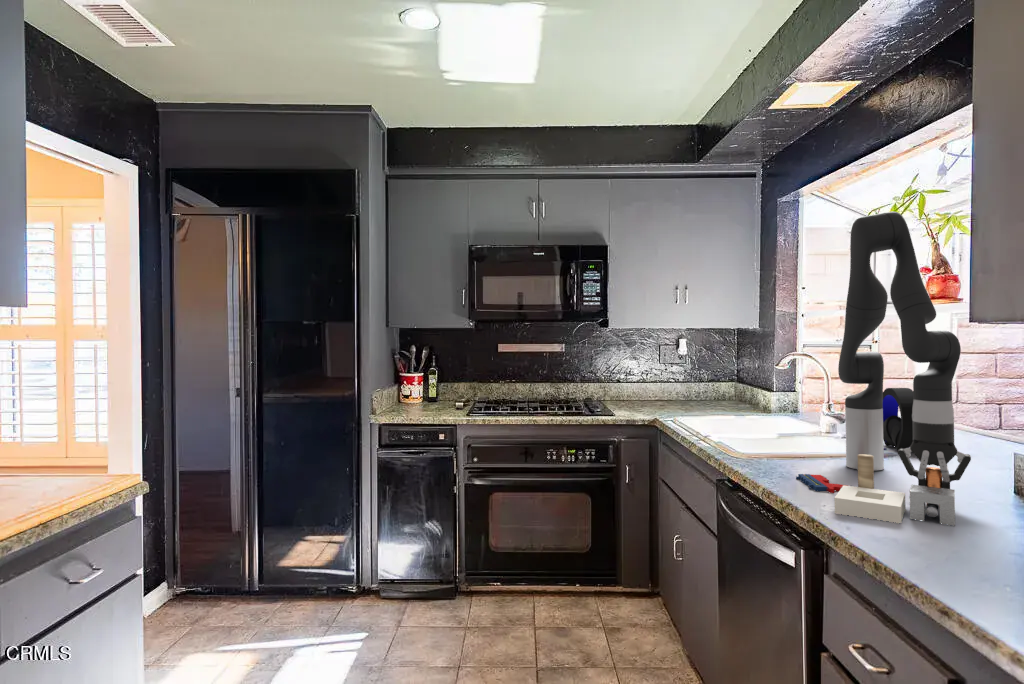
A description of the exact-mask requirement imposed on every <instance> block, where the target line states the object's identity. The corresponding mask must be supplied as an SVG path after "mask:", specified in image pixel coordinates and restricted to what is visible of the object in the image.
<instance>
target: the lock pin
mask: <svg viewBox="0 0 1024 684" xmlns="http://www.w3.org/2000/svg"><path fill="white" fill-rule="evenodd" d="M925 478H926V486H927V487H936V488H942V480H943V477H942V473H941V470H940V467H934V466H933V467H931V466H930V467H929V466H928V467H926V472H925ZM925 505H926V506H925V508H926V515H927V516H928V517H931V518H935V517H937V516H938V515H939V509H940V505H939V504H932V503H925Z"/></svg>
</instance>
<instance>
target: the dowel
mask: <svg viewBox="0 0 1024 684" xmlns="http://www.w3.org/2000/svg"><path fill="white" fill-rule="evenodd" d="M874 473H875V471H874V459H873V456H872V455H867V454H859V455H858V469H857V487H861V488H869V489H875V475H874Z"/></svg>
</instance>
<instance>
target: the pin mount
mask: <svg viewBox="0 0 1024 684" xmlns="http://www.w3.org/2000/svg"><path fill="white" fill-rule="evenodd" d="M955 492H956V490H955V489H951V488H950V489H944V488H936V487H927V486H919V485H918V484H911V485H910V489H909V520H910V519H916V520H923V521H924V522H925V520H926V515H927V514H926V503H932V504H939V505H940V506H939V524H940V523H942V524H941V525H943V524H948V525H947V526H950V525H953V526H952V527H955V525H956V502H955V499H956V497H955V495H956V494H955ZM925 514H926V515H925ZM924 519H925V520H924ZM916 520H915V521H916ZM923 521H922V522H923Z"/></svg>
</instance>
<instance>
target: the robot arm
mask: <svg viewBox="0 0 1024 684" xmlns="http://www.w3.org/2000/svg"><path fill="white" fill-rule="evenodd" d="M849 247H850V248H849V249H850V252H849V253H850V255H849V257H850V258H849V260H850V261H849V262H850V266H849V267H850V268H849V278H848V279H849V280H848V290H847V295H846V296H847V297H846V302H845V303H846V304H845V317H844V318H845V320H844V332H843V338H842V344H841V348H840V354H839V361H838V368H837V369H838V370H837V371H838V377H839V379H840V381H841V382H842V383H843V384H848V385H849V384H850V385H852V384H854V385H855V384H856V385H867V387H866V388H865V389H864V390H862V391H859V392H857V393H856V394H855V393H854V394H851V395H849V396H846V398H845V399H844V400H845V401H844V406H845V407H844V411H845V415H844V417H845V418H844V419H845V465H846V467H848V468H850V469H855V470H858V455H859V454H867V455H872V456H873V459H874V472H875V471H882V470H884V468H885V463H884V462H885V460H884V452H885V451H884V445H885V444H884V440H883V392H884V372H885V369H884V368H885V367H884V366H885V365H884V364H885V363H884V357H883V356H882V354H881V352H878V351H859V350H858V349H859V348H860V346H861V345H862V343H863V342H864V341H865V340H866V339H867V338H868V337H869V336H871V334H873V332H874V331H875V330H877V328H879V327H880V325H881V324H882V322H883V321H884V319H885V317H886V313H887V312H886V311H887V307H888V298H889V297H888V296H889V295H888V291H887V290H886V288H885V287H884V285H883V283H882V282H881V281H880V280H879V279H878V277H877V276H876V274H875V273H874V271H873V270H872V267H871V256H872V253H879V252H884V251H889V250H892V251H893V253H894V256H895V258H896V266H895V271H894V274H893V277H892V280H891V284H890V290H889V291H890V292H889V293H890V300H891V302H892V305H893V307H894V309H895V311H896V315H897V317H898V319H899V322H900V332H901V333H900V334H901V345H902V349H903V352H904V354H905V355H906V357H908V358H909V359H910V360H911V361H912V362H915V363H917V364H918V363H919V364H923V363H924V364H925V363H929V364H928V367H927V369H926V370H925V371H923V372H921V373H920V372H919V373H918V374H916V375H915V376H914V377H913V379H912V380H913V381H912V382H913V383H912V387H913V389H912V390H913V407H912V421H913V442H912V444H911V446H910V447H909V448H905V449H899V450H897V454H898V457H899V458H900V460H901V462H902V465H903V466H904V468H905V470H906V472H907V474H908V475H909V476H911V477H912V476H913V477H915V478H917V479H918V480H917V485H919V486H926V468H927V466H935V467H936V466H937V467H939V468H940V470H941V473H942V488H944V489H951V482H955V481H960V480H961V478H962V476H963V475H964V473H965V471H966V469H967V467H968V466H969V464H970V462H971V461H972V456H971V455H970V454H968V453H966V454H965V453H963V452H960V451H959V450H958V448H957V446H956V445H955V411H954V405H953V379H954V378H955V377H954V376H955V374H956V370H957V368H958V367H957V366H958V364H959V360H960V357H961V353H962V352H961V351H962V349H961V347H962V346H961V342H960V341H959V338H958V337H957V336H956V335H955V334H954V333H953V332H951V331H947V330H928V328H927V327H926V325H927V324H930V323H932V322H933V321H934V320H935V319H936V318H937V310H936V307H935V306H934V304H933V302H932V300H931V297H930V295H929V293H928V291H927V289H926V286H925V283H924V282H923V278H922V276H921V273H920V269H919V268H920V267H919V265H918V261H917V256H916V253H915V247H914V245H913V240H912V237H911V233H910V229H909V226H908V224H907V222H906V220H905V218H904V216H903V215H902V214H901V213H900V212H898V211H888V212H887V211H885V212H880V213H875V214H870V215H866V216H861V217H857V218H856V219H855V220H854V222H853V223H852V226H851V229H850V246H849ZM911 453H912V454H913V455H914V456H915V457H916V458H917V460H919V462H920V464H919V468H918V470H917V469H915V467H914V465H913V463H912V462H911V460H910V458H911ZM955 457H956V458H957V462H958V463H959V464H958V465H957V467H956V470H955V471H954V472H953V473H950V471H949V467H948V464H949V462H950V461H952V459H953V458H955Z"/></svg>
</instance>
